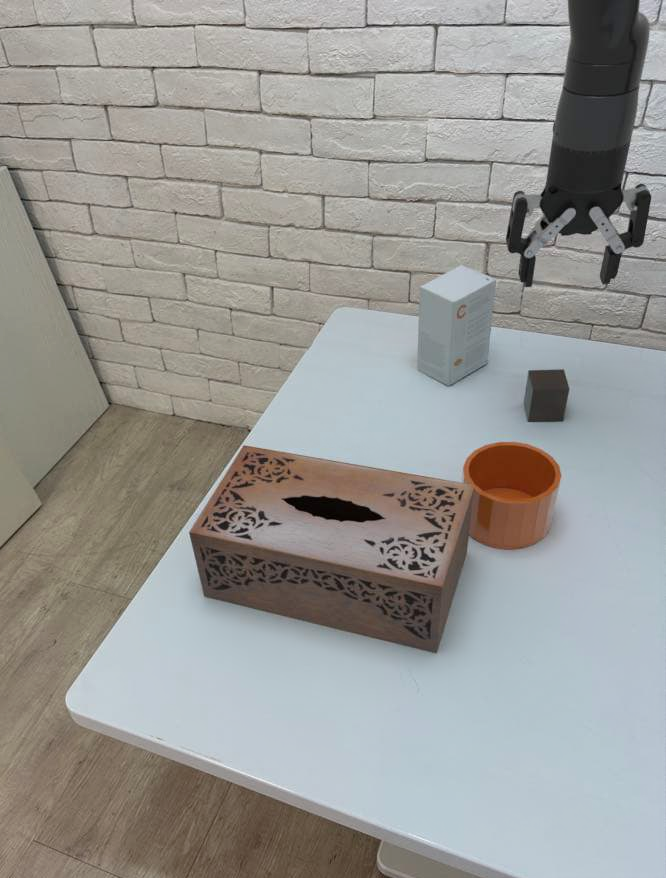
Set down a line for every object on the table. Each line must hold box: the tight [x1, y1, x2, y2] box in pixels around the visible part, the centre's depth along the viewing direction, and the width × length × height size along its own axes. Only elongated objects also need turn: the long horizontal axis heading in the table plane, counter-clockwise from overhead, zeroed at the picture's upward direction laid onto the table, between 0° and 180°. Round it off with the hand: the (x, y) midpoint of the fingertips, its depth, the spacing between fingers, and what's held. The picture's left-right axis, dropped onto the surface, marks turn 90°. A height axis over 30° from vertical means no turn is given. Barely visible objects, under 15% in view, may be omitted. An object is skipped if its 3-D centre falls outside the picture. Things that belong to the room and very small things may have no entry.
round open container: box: [461, 441, 563, 550], centre depth 89 cm, size 10×10×7 cm
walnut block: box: [523, 368, 570, 423], centre depth 103 cm, size 4×4×5 cm
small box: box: [416, 264, 497, 387], centre depth 109 cm, size 8×6×13 cm
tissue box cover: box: [188, 444, 475, 654], centre depth 85 cm, size 26×14×10 cm, turn 68°
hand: (565, 282), depth 92 cm, fingers open, 8 cm apart
